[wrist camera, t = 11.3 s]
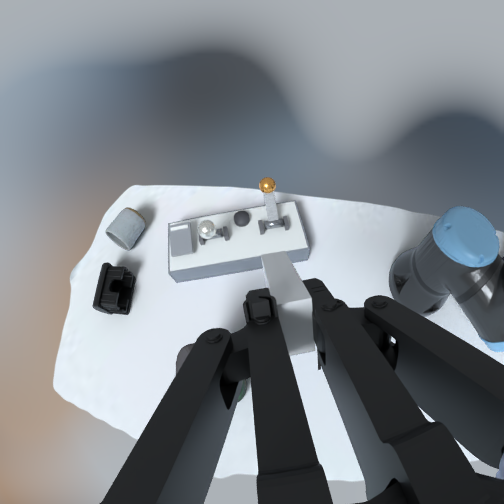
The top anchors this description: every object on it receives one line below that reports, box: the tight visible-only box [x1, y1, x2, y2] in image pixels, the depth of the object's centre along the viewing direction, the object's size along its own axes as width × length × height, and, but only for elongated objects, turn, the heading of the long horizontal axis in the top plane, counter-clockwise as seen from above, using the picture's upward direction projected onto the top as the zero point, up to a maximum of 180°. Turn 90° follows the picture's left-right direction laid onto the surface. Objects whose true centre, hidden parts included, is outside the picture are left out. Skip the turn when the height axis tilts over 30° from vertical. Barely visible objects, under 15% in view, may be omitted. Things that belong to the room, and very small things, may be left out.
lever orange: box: [259, 177, 284, 230], centre depth 53 cm, size 3×4×10 cm
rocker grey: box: [169, 222, 194, 257], centre depth 53 cm, size 6×4×1 cm
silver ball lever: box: [197, 220, 223, 240], centre depth 50 cm, size 3×4×10 cm
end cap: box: [93, 263, 136, 315], centre depth 53 cm, size 10×7×7 cm
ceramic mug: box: [105, 208, 146, 251], centre depth 61 cm, size 11×8×8 cm
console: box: [168, 201, 310, 283], centre depth 57 cm, size 12×28×7 cm, turn 99°
